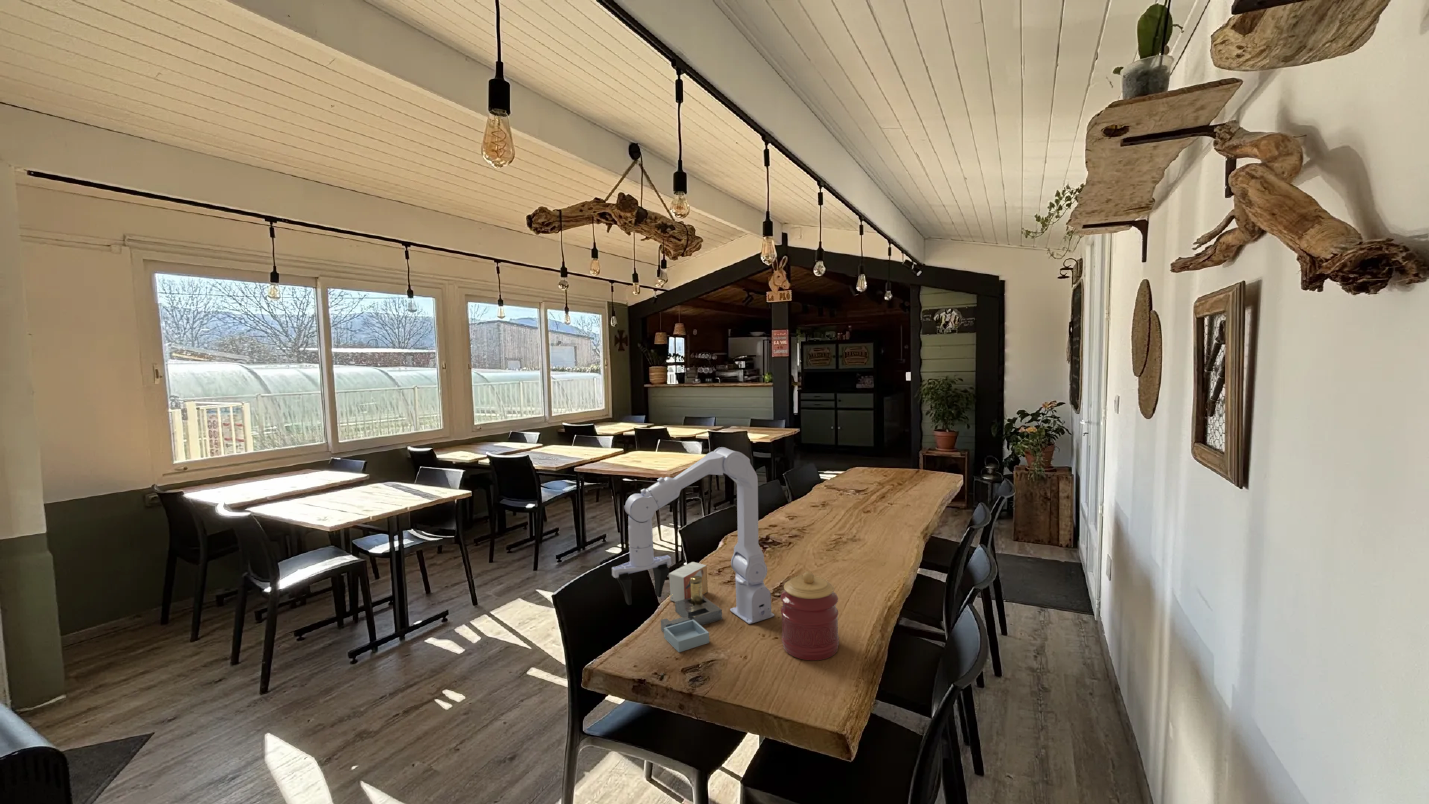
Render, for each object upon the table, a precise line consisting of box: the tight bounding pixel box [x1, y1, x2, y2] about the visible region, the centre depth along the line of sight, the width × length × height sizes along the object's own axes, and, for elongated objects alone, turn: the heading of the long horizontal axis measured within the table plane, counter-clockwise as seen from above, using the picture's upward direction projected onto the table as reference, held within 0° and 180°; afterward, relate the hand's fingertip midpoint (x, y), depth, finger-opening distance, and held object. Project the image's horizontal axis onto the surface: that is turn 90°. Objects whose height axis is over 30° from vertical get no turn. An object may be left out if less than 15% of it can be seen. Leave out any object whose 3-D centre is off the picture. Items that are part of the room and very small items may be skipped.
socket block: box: [674, 594, 723, 627], centre depth 146 cm, size 11×8×3 cm
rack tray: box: [663, 619, 710, 653], centre depth 133 cm, size 8×8×2 cm
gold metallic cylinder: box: [690, 576, 703, 606], centre depth 148 cm, size 3×3×9 cm
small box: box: [668, 561, 709, 603], centre depth 158 cm, size 8×6×10 cm
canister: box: [780, 571, 840, 661], centre depth 127 cm, size 13×13×18 cm
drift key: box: [660, 616, 690, 633], centre depth 139 cm, size 3×7×3 cm, turn 120°
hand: (643, 599), depth 134 cm, fingers open, 7 cm apart
